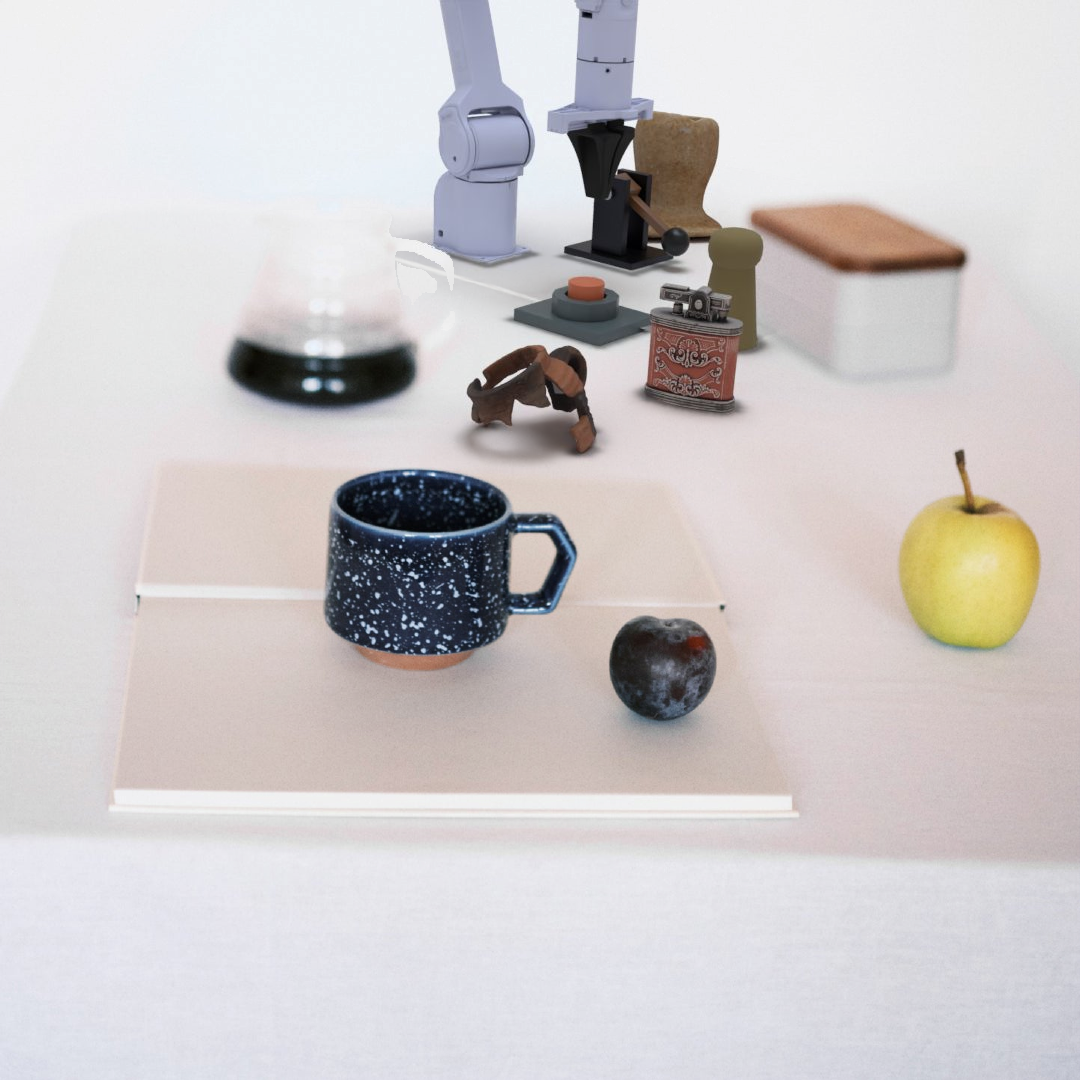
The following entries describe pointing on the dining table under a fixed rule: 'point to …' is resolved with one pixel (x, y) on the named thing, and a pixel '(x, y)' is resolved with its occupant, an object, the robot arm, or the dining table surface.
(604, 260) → the bracket
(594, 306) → the button block
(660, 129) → the tan piece
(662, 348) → the lighter
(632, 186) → the lever
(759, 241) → the cork
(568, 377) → the brown curved pieces
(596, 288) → the button
